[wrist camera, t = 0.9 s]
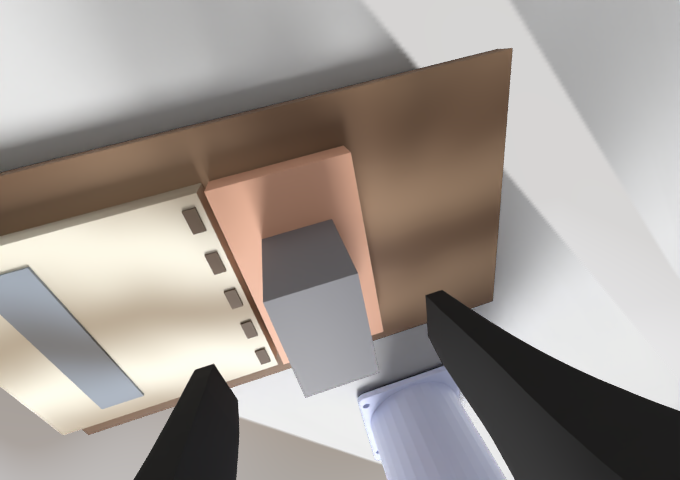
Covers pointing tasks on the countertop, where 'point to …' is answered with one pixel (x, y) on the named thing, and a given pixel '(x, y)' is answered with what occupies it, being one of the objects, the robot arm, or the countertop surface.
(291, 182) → the pink grey stepped block
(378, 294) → the board
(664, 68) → the countertop surface
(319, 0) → the countertop surface
